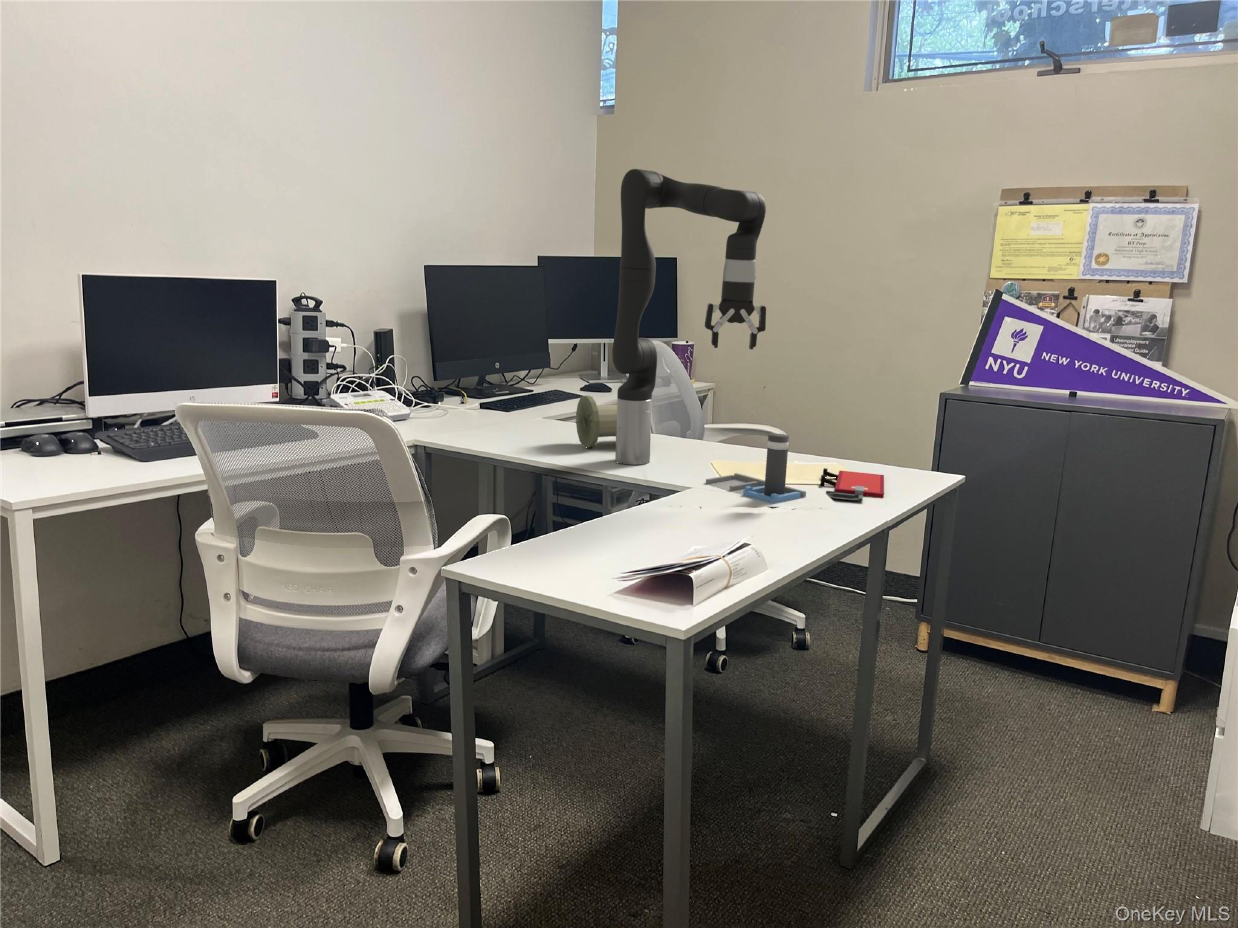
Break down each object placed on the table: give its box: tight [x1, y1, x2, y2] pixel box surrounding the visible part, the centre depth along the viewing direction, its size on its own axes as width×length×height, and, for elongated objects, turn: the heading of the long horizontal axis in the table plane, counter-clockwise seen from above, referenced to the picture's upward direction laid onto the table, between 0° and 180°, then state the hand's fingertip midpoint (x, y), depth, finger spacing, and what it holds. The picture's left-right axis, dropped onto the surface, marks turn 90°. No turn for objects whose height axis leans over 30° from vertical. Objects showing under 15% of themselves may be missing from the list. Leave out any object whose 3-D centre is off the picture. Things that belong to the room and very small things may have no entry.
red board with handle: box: [819, 467, 885, 502], centre depth 218 cm, size 30×3×15 cm
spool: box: [575, 394, 617, 449], centre depth 261 cm, size 16×15×15 cm
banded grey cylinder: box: [764, 433, 790, 497], centre depth 202 cm, size 5×5×14 cm
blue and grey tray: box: [704, 472, 807, 510], centre depth 208 cm, size 22×11×3 cm, turn 38°
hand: (733, 348), depth 213 cm, fingers open, 8 cm apart
